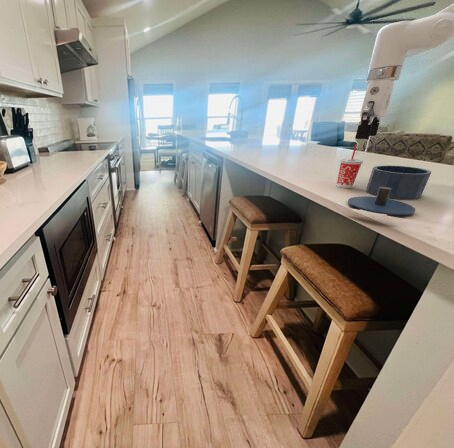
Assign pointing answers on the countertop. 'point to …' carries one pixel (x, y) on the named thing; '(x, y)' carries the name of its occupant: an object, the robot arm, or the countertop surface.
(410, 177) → the pot
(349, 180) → the beverage cup
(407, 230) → the countertop surface
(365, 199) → the pot lid
